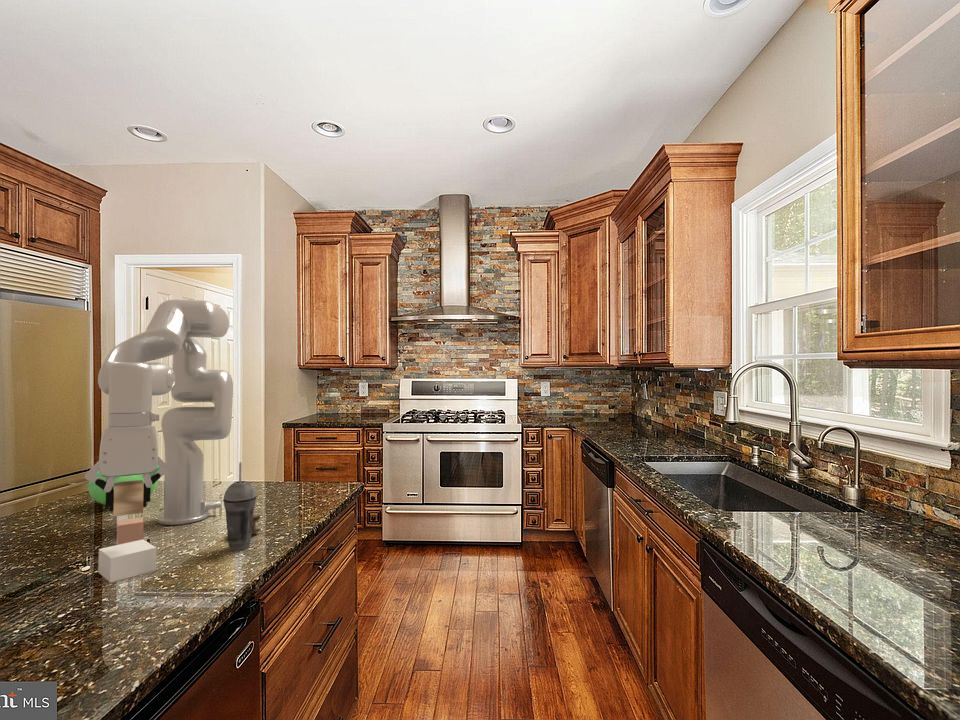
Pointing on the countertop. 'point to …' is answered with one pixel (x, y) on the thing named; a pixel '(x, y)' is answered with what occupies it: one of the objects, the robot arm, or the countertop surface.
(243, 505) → the beverage cup
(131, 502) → the oak block
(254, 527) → the mushroom
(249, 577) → the countertop surface
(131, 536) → the terracotta block
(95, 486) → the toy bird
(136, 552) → the white block
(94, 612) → the countertop surface
